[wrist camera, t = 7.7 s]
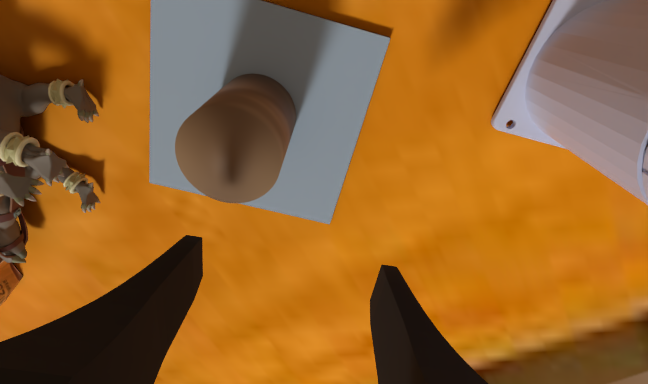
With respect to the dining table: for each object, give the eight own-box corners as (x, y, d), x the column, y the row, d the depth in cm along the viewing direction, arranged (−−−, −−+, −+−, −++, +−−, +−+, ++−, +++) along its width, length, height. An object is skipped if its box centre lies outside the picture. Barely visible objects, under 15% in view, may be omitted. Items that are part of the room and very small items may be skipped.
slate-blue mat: (389, 37, 18) (390, 38, 18) (329, 220, 24) (329, 224, 24) (154, -31, 17) (151, -32, 17) (152, 179, 23) (149, 182, 23)
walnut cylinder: (303, 85, 19) (290, 122, 14) (288, 158, 21) (271, 212, 16) (221, 64, 19) (176, 93, 14) (214, 140, 21) (173, 190, 16)
